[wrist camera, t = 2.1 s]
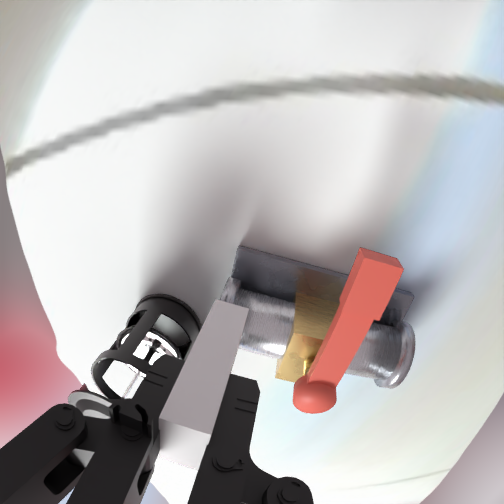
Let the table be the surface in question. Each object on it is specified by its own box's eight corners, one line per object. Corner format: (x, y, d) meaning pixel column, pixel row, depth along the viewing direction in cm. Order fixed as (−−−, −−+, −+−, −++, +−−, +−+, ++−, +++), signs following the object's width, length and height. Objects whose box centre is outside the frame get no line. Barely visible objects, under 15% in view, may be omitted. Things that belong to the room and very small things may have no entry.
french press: (130, 283, 37) (13, 417, 16) (201, 295, 36) (109, 468, 15) (142, 353, 41) (65, 480, 20) (204, 367, 40) (145, 516, 19)
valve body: (219, 332, 37) (195, 395, 28) (239, 245, 32) (213, 298, 23) (369, 368, 37) (380, 432, 27) (411, 292, 32) (442, 352, 22)
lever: (326, 402, 25) (326, 416, 24) (288, 395, 25) (287, 409, 24) (402, 260, 19) (409, 270, 18) (354, 245, 19) (358, 255, 18)
